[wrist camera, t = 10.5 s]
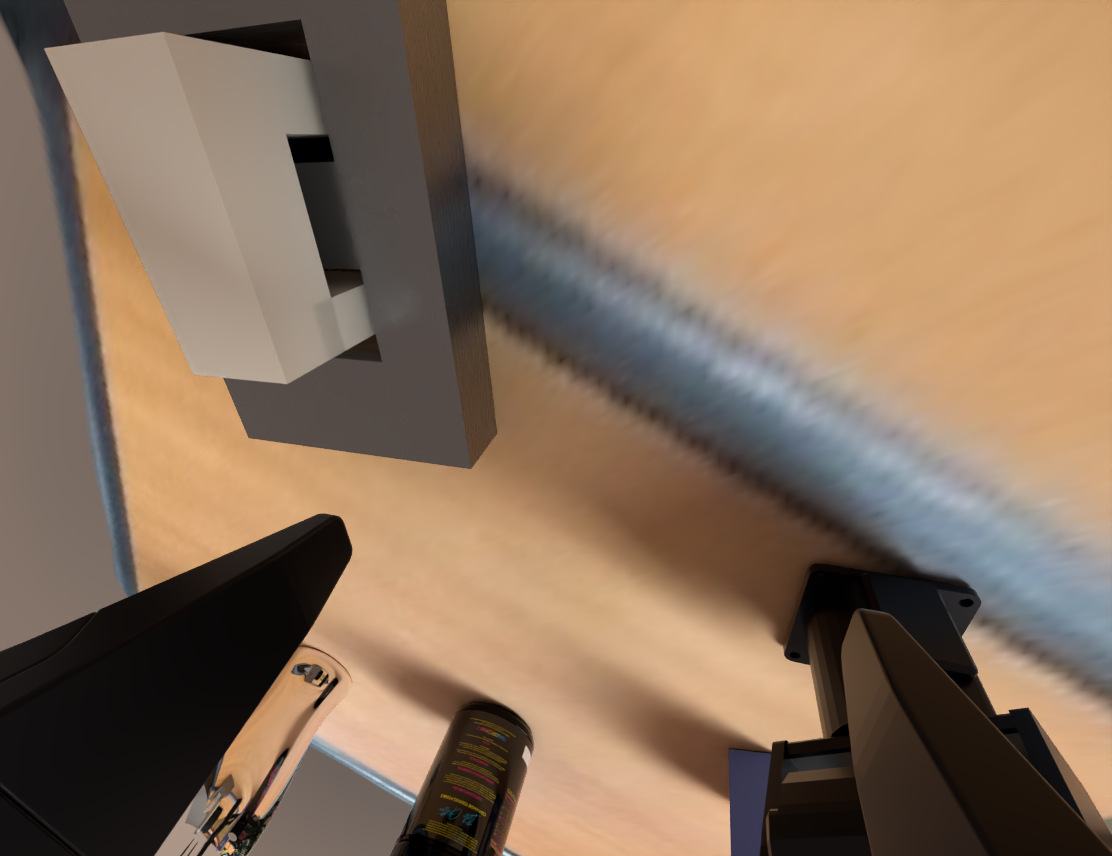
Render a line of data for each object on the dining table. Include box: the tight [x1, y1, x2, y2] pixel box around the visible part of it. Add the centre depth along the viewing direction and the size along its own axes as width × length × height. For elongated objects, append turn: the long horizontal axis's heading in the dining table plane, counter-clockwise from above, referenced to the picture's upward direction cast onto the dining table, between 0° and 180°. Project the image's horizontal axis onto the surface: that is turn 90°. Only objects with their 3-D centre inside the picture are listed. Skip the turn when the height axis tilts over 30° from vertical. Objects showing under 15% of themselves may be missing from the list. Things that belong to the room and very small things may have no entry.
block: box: [44, 32, 376, 384], centre depth 17 cm, size 9×4×7 cm, turn 2°
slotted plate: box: [63, 0, 497, 469], centre depth 18 cm, size 20×12×3 cm, turn 2°
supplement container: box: [390, 702, 534, 856], centre depth 33 cm, size 7×7×10 cm
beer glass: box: [155, 647, 352, 856], centre depth 35 cm, size 7×7×15 cm
